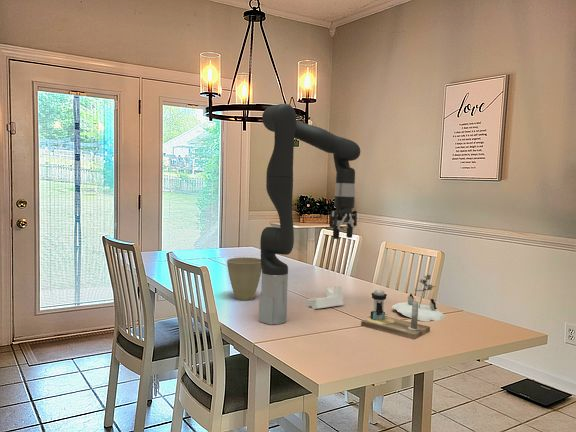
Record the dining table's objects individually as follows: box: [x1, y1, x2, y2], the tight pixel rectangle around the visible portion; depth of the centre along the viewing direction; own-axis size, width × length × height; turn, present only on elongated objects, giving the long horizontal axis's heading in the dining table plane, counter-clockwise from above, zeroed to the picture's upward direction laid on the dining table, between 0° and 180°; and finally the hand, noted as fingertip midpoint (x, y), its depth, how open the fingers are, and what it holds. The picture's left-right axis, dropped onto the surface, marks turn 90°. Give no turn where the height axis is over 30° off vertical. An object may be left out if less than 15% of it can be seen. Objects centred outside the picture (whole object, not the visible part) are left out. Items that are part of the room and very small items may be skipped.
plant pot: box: [226, 256, 262, 301], centre depth 208 cm, size 15×15×16 cm
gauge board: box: [360, 301, 431, 340], centre depth 173 cm, size 12×21×10 cm, turn 50°
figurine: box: [391, 273, 446, 322], centre depth 191 cm, size 20×18×16 cm
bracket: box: [305, 285, 344, 310], centre depth 200 cm, size 13×7×8 cm, turn 122°
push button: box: [370, 289, 389, 320], centre depth 178 cm, size 7×5×10 cm
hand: (342, 238), depth 190 cm, fingers open, 8 cm apart
